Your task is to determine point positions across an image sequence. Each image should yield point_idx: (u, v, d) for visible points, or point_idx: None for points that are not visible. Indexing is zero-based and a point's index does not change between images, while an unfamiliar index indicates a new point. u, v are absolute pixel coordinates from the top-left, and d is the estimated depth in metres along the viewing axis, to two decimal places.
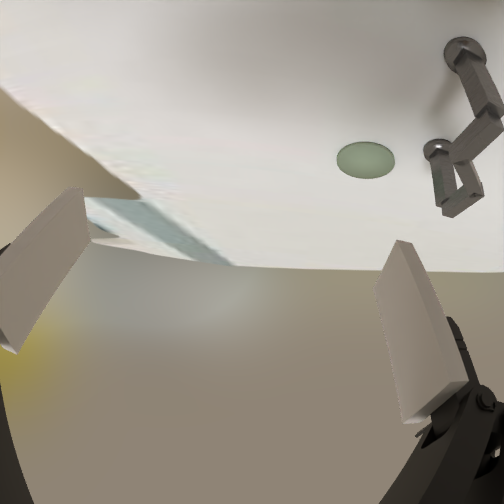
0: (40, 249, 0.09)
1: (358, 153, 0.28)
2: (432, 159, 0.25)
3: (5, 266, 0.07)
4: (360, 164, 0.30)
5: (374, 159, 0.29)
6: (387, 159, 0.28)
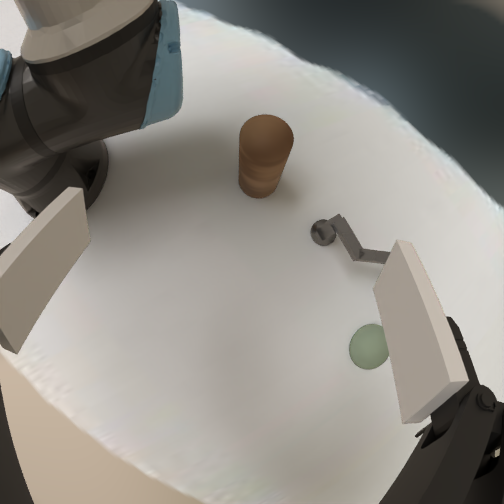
0: (40, 249, 0.09)
1: (359, 345, 0.38)
2: None
3: (5, 266, 0.07)
4: (370, 351, 0.38)
5: (371, 338, 0.38)
6: (376, 329, 0.38)
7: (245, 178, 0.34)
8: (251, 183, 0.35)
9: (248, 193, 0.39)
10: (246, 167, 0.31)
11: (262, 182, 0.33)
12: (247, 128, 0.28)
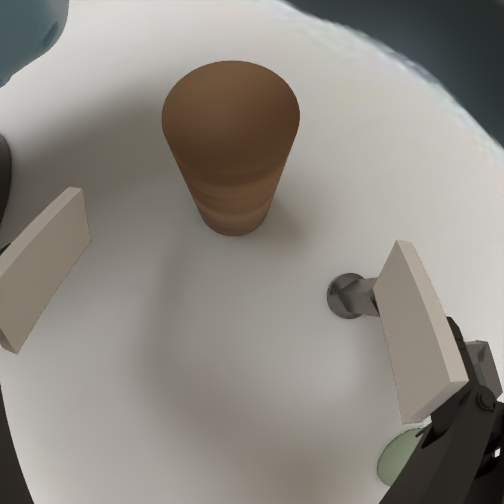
0: (40, 248, 0.09)
1: (392, 460, 0.20)
2: None
3: (5, 266, 0.07)
4: None
5: (411, 449, 0.20)
6: (420, 436, 0.20)
7: (199, 205, 0.17)
8: (212, 216, 0.17)
9: (214, 228, 0.21)
10: (190, 185, 0.14)
11: (231, 215, 0.16)
12: (184, 93, 0.11)
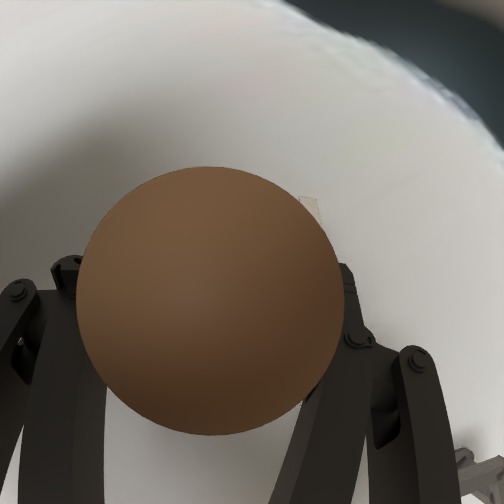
0: None
1: None
2: None
3: None
4: None
5: None
6: None
7: None
8: None
9: None
10: None
11: None
12: (111, 255, 0.05)
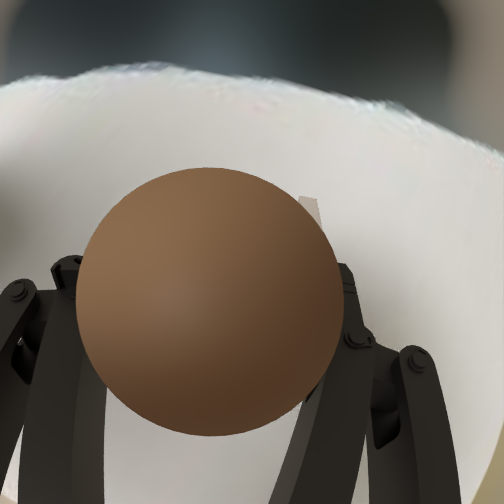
0: None
1: None
2: None
3: None
4: None
5: None
6: None
7: None
8: None
9: None
10: None
11: None
12: (111, 256, 0.05)
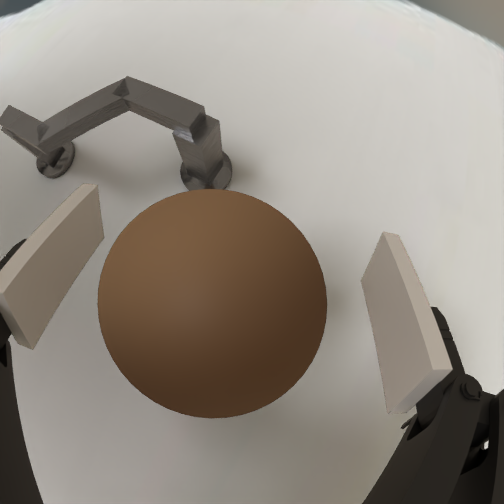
0: (57, 244, 0.09)
1: None
2: (202, 178, 0.18)
3: (23, 261, 0.08)
4: None
5: None
6: None
7: None
8: None
9: None
10: None
11: None
12: (129, 264, 0.07)
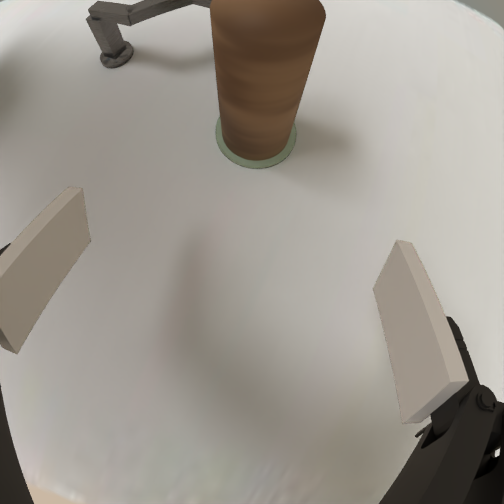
0: (40, 248, 0.09)
1: None
2: None
3: (5, 266, 0.07)
4: None
5: None
6: None
7: (228, 113, 0.17)
8: (241, 123, 0.17)
9: (238, 151, 0.21)
10: (227, 77, 0.14)
11: (260, 115, 0.16)
12: None
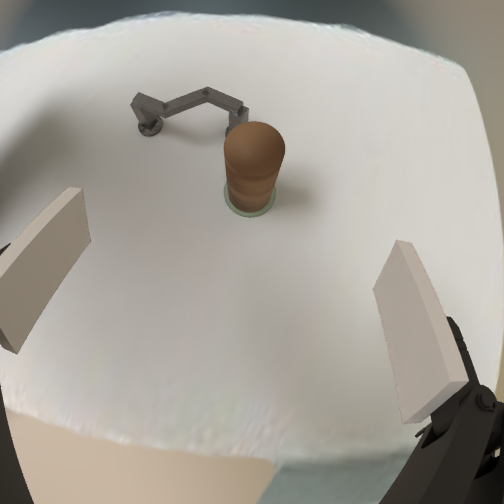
0: (40, 248, 0.09)
1: None
2: None
3: (5, 266, 0.07)
4: None
5: None
6: None
7: (233, 192, 0.31)
8: (240, 198, 0.32)
9: (238, 207, 0.36)
10: (232, 180, 0.28)
11: (251, 196, 0.30)
12: (233, 137, 0.25)
